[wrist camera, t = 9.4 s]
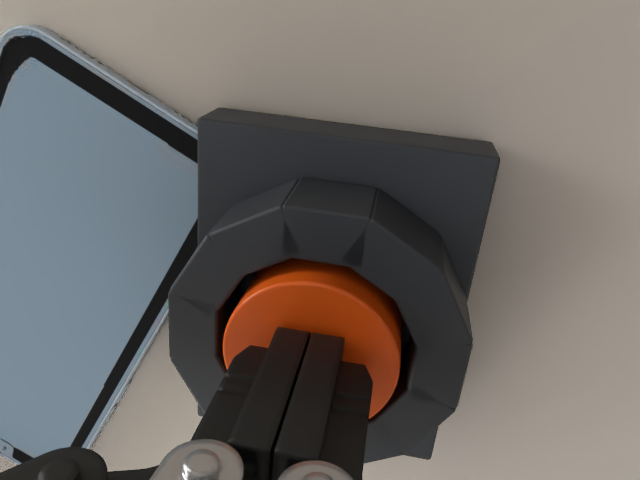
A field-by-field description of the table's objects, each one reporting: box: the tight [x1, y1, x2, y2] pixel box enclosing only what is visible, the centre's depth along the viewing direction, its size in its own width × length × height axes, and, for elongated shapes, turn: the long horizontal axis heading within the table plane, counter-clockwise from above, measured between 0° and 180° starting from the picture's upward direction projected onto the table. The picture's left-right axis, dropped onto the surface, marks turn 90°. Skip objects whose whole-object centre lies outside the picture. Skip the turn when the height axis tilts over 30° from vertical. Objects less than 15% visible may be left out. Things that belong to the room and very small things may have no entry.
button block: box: [168, 108, 500, 464], centre depth 14 cm, size 9×7×4 cm
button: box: [223, 258, 402, 419], centre depth 13 cm, size 4×4×2 cm
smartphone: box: [0, 25, 198, 465], centre depth 18 cm, size 7×1×15 cm
